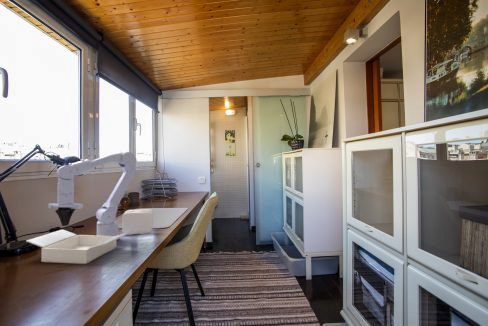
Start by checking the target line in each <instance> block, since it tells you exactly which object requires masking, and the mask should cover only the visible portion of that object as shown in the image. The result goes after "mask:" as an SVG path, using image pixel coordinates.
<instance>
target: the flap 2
mask: <svg viewBox="0 0 488 326" xmlns="http://www.w3.org/2000/svg"><path fill="white" fill-rule="evenodd" d="M129 233H131V232H127V233H121V234H118V235H117V236H115V237H112V238H110V239H108V240H106V241H104V242H102V243H99V244H97V245H95V246H93V247H91V248H89V249H92V248H96V247H99V246H103V245H106V244H108V243H110V242H112V241H114V240H116V241H118V240H120V239H121V238H123V237H124V236H127V234H129ZM119 238H120V239H119ZM117 239H118V240H117Z"/></svg>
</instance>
